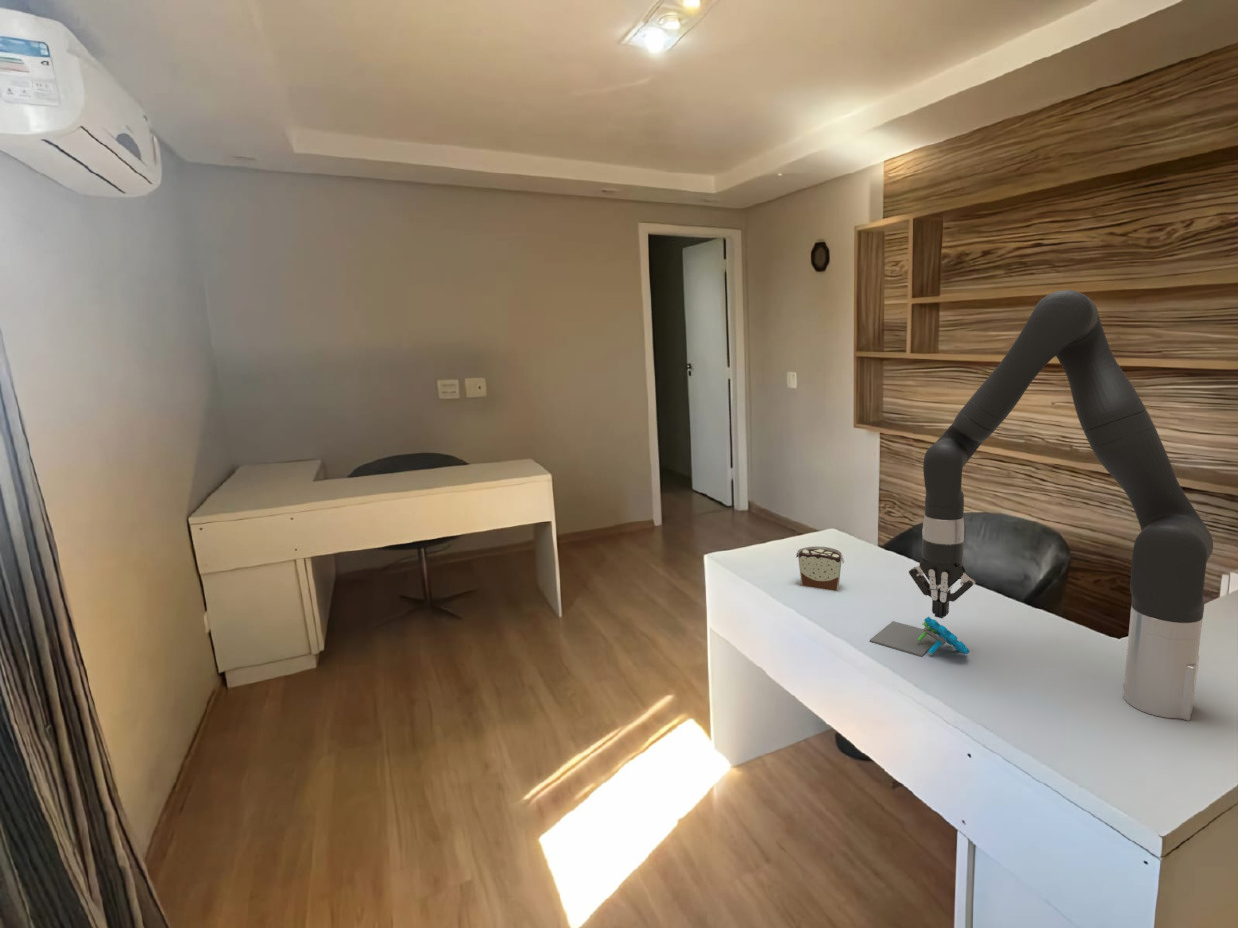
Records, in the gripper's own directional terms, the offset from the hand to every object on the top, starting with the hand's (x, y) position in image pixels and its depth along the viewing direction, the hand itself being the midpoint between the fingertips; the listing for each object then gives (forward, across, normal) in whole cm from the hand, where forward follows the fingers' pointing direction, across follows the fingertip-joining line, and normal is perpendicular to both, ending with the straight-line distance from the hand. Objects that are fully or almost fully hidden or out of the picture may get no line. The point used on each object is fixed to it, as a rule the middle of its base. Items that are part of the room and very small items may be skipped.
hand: (940, 616), depth 134 cm
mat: (+7, +7, 0) cm, 10 cm away
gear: (+8, -3, 0) cm, 9 cm away
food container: (+7, +36, -17) cm, 40 cm away
